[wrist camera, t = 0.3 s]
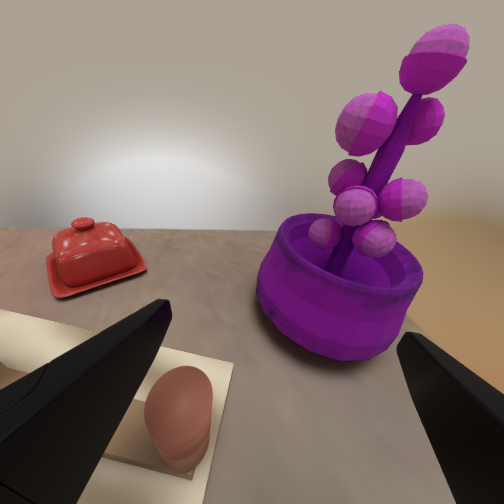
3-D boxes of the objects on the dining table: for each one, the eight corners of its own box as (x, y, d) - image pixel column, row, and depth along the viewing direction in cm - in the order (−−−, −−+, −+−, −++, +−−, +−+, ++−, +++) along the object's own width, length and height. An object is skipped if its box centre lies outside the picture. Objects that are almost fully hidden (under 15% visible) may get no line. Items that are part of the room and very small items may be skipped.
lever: (-114, 428, 14) (-299, 361, 9) (-23, 358, 18) (-111, 284, 13) (193, 511, 13) (188, 490, 8) (216, 416, 17) (223, 362, 12)
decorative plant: (260, 379, 21) (473, -212, 5) (247, 268, 37) (286, 34, 20) (411, 373, 24) (873, 0, 8) (341, 273, 40) (445, 73, 23)
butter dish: (55, 307, 25) (21, 252, 20) (48, 259, 32) (21, 209, 27) (151, 275, 32) (142, 228, 27) (129, 241, 39) (119, 199, 34)
